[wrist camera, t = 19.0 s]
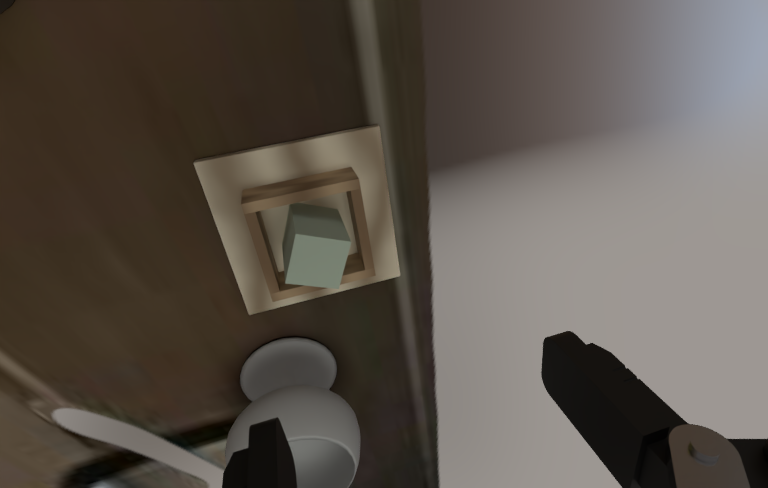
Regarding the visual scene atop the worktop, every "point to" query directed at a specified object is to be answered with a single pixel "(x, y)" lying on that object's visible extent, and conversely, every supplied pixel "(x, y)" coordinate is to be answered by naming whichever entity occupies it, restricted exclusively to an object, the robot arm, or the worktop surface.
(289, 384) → the chalice
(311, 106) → the worktop surface
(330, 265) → the sage block
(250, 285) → the keeper cradle
